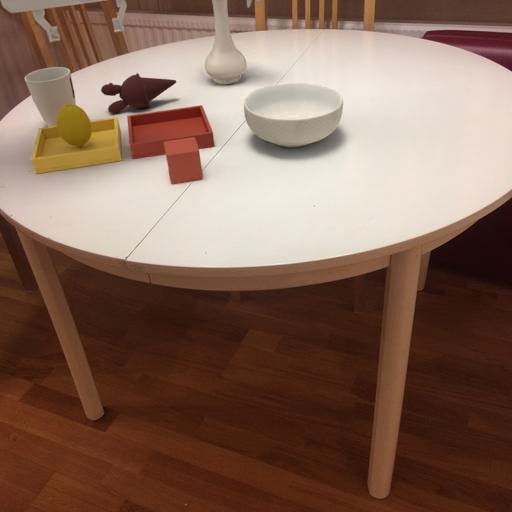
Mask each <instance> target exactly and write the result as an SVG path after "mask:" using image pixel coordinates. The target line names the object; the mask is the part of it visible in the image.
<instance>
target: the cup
mask: <svg viewBox="0 0 512 512" xmlns="http://www.w3.org/2000/svg"><path fill="white" fill-rule="evenodd" d="M24 81H25V83H26V87H27V89H28V91H29V93H30V96H31V99H32V101H33V103H34V105H35V107H36V109H37V110H38V112H39V114H40V116H41V118H42V120H43V121H44V122H45V124H46V125H47V127H52V126H57V114H58V112H59V111H60V109H61V108H62V107H64V106H65V105H66V104H68V103H70V104H71V105H76V106H77V103H76V102H77V101H76V94H75V93H76V92H75V88H74V84H73V78H72V75H71V70H70V69H69V68H68V67H62V66H53V67H52V66H51V67H46V68H45V67H44V68H41V69H37V70H33V71H31V72H29V73H28V74H26V75H25V76H24Z"/></svg>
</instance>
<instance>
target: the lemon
mask: <svg viewBox="0 0 512 512" xmlns="http://www.w3.org/2000/svg"><path fill="white" fill-rule="evenodd" d="M90 121H91V119H90V118H89V116H88V114H87V112H86V111H85V110H84V109H83V108H82V107H80V106H79V105H77V104H76V105H71V104H70V103H68V104H66V105H65V106H64V107H62V108H61V109H60V111H59V112H58V114H57V128H58V131H59V134H60V136H61V137H62V139H63V140H64V141H65V142H67V143H68V144H70V145H73V146H77V147H79V148H81V147H82V146H83V144H85V143H86V142H87V141H88V140H89V139H90V137H91V133H92V129H91V123H90Z"/></svg>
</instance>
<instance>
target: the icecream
mask: <svg viewBox="0 0 512 512" xmlns="http://www.w3.org/2000/svg"><path fill="white" fill-rule="evenodd" d="M175 84H177V80H176V79H168V78H154V77H144V76H143V77H142V76H140V74H139V73H138V72H136V73H135V74H132V75H130V76H128V77H127V78H126V79H125V80H124V81H122V83H121V85H120V84H114V83H113V82H109V83H107V84H106V83H105V84H104V85H102V86H101V88H100V89H101V90H100V92H101V93H102V94H103V95H105V96H108V97H110V96H111V97H112V96H113V97H116V96H117V95H119V97H118V98H120V99H119V100H116V101H114V102H112V103H111V104H109V105H108V107H107V111H108V113H110V114H112V115H114V114H118V113H120V112H122V111H123V110H125V109H126V108H127V107H128V106H129V107H131V108H133V109H144V108H150V102H152V101H153V100H155V99H157V97H159V96H160V95H162V94H163V93H164V92H166V91H167V90H168V89H170V88H172V87H173V86H174V85H175Z"/></svg>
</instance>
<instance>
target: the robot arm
mask: <svg viewBox="0 0 512 512" xmlns="http://www.w3.org/2000/svg"><path fill="white" fill-rule="evenodd" d="M105 1H107V0H0V3H1V6H2V8H4V9H5V10H6V11H7V12H9V13H10V14H16V13H25V12H31V13H32V15H33V19H34V20H35V22H36V23H38V24H39V26H40V27H42V29H43V30H44V31H45V32H46V34H47V37H48V41H49V43H55V42H60V41H61V33H60V32H59V31H60V30H59V28H58V25H54V26H52V25H51V24H50V23H49V21H47V20H46V19H45V15H46V11H45V10H47V9H53V8H62V7H69V6H75V5H77V6H78V5H84V4H90V3H99V2H105ZM126 1H127V0H115V3H116V7H117V8H118V9H119V10H118V12H117V17H112V18H111V21H112V26H113V31H114V34H118V33H124V32H125V26H124V21H123V20H124V17H125V14H126V12H127V11H126V10H127V8H128V5H127V2H126Z"/></svg>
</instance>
